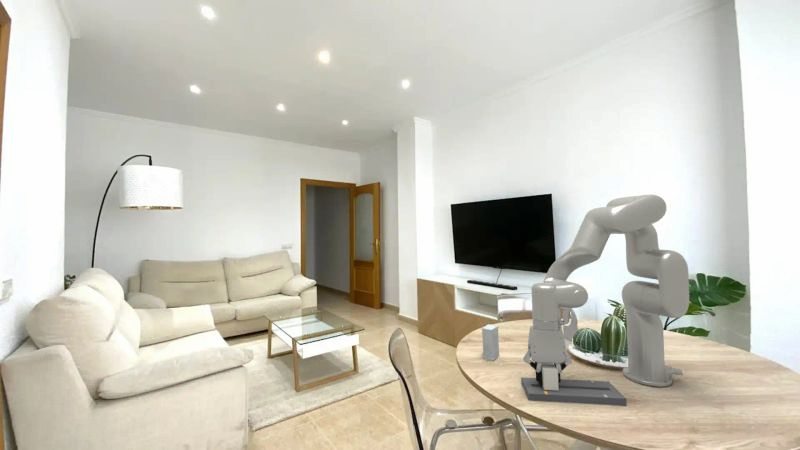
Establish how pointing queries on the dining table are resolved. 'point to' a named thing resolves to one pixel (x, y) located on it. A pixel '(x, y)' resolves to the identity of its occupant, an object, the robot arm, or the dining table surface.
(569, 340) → the ornament
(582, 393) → the slider panel
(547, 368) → the fader tab
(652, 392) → the dining table surface
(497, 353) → the skincare box
